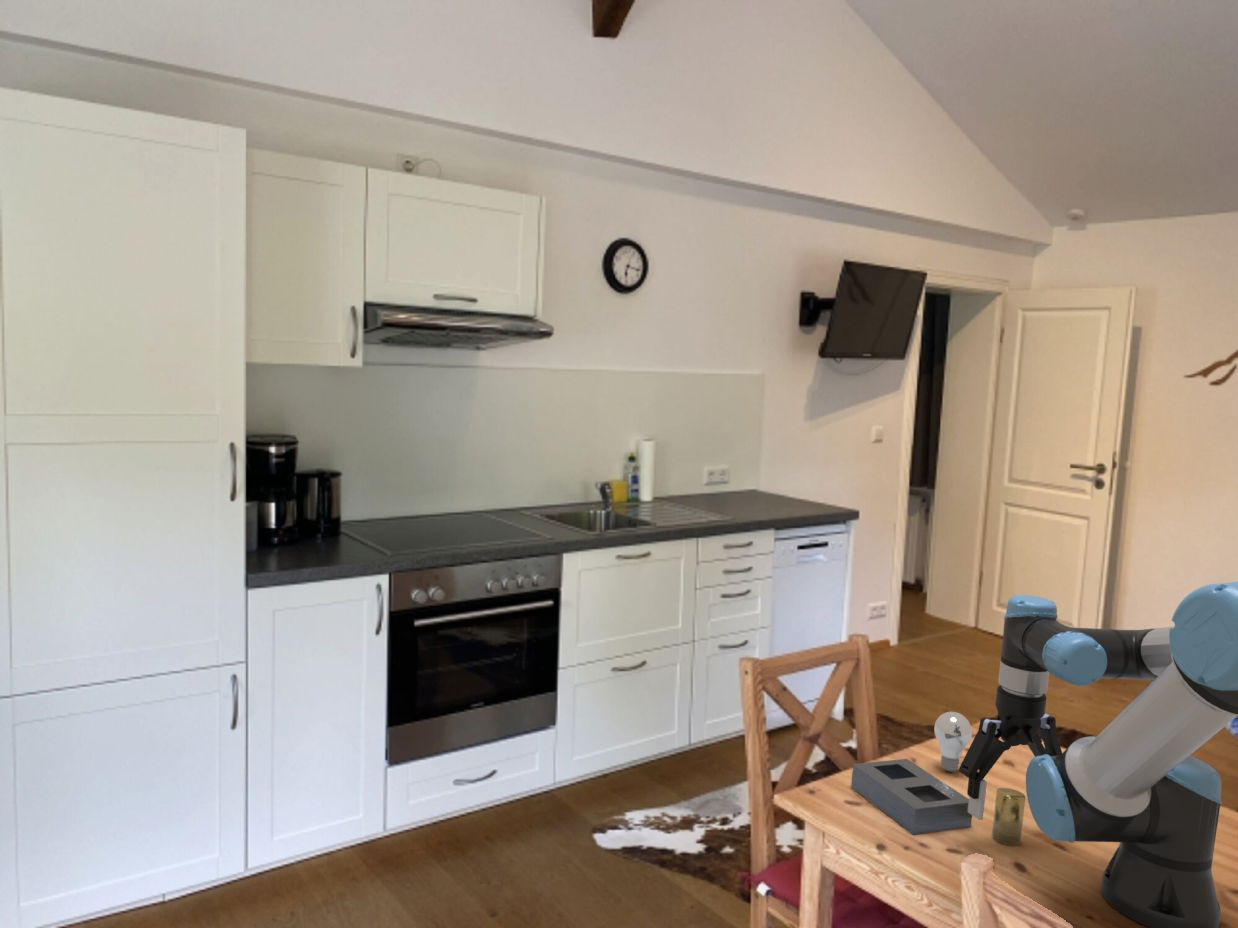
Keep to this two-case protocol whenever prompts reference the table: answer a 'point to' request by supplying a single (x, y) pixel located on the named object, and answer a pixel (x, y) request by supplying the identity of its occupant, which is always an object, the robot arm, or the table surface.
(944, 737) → the light bulb
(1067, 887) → the table surface
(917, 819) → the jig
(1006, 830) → the brass cylinder
